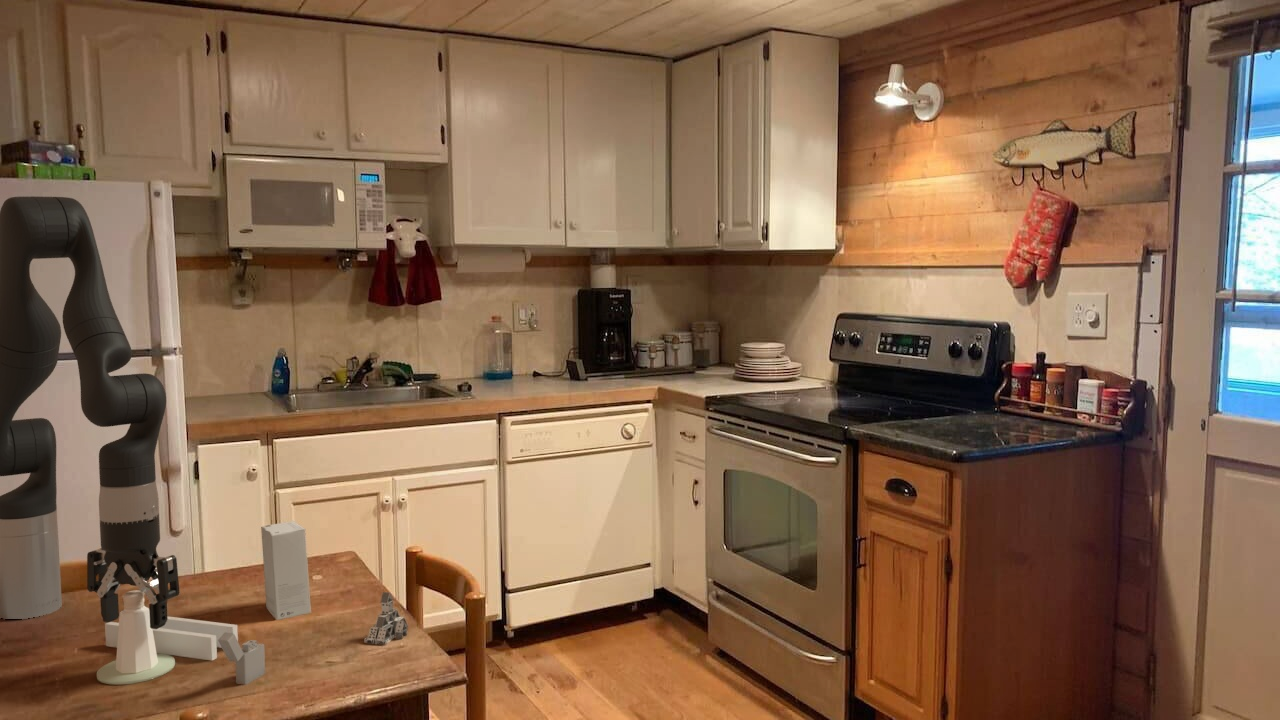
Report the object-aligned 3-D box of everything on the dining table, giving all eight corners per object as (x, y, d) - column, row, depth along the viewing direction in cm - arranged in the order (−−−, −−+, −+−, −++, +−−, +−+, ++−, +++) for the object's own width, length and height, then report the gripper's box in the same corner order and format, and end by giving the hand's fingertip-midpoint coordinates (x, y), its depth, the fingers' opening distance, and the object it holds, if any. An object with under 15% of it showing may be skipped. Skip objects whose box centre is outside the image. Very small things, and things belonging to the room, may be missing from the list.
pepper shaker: (166, 662, 138) (163, 588, 137) (135, 676, 133) (132, 600, 132) (138, 657, 140) (134, 585, 139) (106, 671, 135) (102, 596, 134)
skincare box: (311, 615, 159) (308, 529, 158) (274, 622, 156) (271, 534, 154) (299, 601, 166) (296, 518, 165) (263, 608, 162) (260, 523, 161)
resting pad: (80, 679, 133) (79, 676, 133) (136, 653, 143) (136, 650, 143) (136, 688, 130) (136, 684, 130) (190, 660, 140) (190, 657, 140)
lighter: (256, 671, 136) (254, 617, 135) (266, 673, 135) (264, 619, 135) (219, 691, 129) (217, 635, 128) (229, 693, 128) (227, 636, 128)
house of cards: (408, 656, 142) (406, 607, 141) (357, 650, 144) (355, 601, 144) (436, 635, 150) (435, 588, 150) (388, 630, 153) (387, 583, 152)
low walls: (105, 645, 146) (104, 623, 145) (134, 633, 151) (133, 612, 151) (212, 660, 140) (211, 637, 140) (238, 647, 145) (237, 624, 145)
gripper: (68, 516, 133) (73, 627, 135) (148, 524, 129) (153, 639, 130) (111, 504, 140) (116, 610, 142) (189, 511, 136) (194, 620, 138)
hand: (134, 623), depth 136 cm, fingers open, 8 cm apart
